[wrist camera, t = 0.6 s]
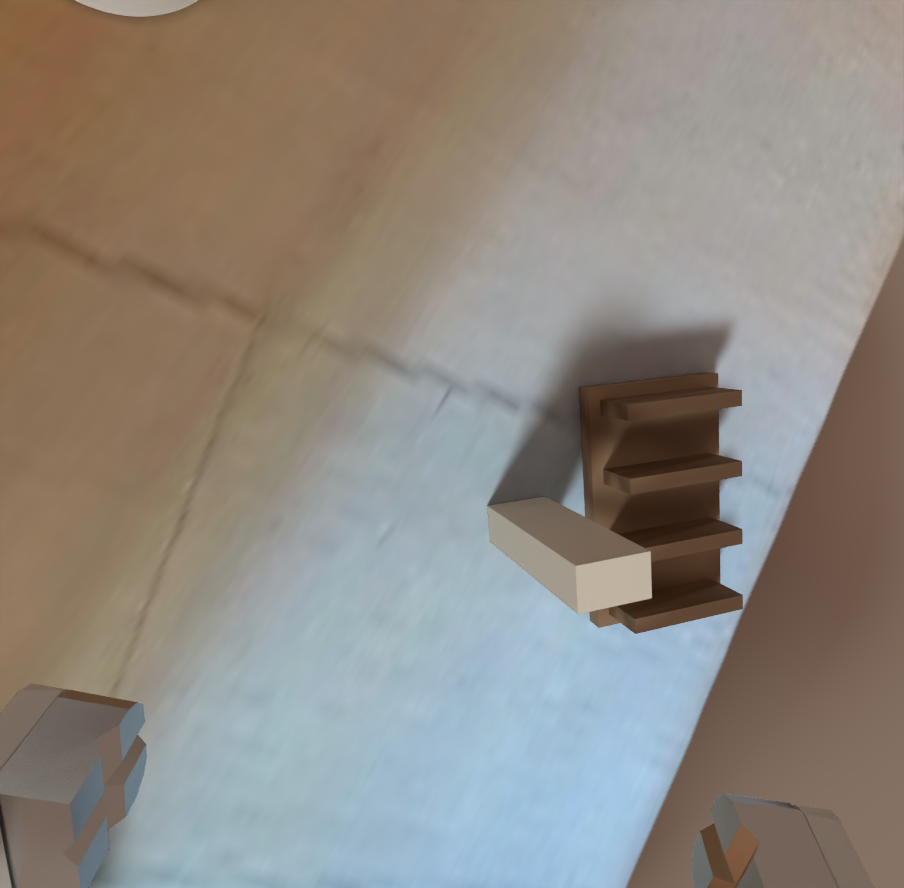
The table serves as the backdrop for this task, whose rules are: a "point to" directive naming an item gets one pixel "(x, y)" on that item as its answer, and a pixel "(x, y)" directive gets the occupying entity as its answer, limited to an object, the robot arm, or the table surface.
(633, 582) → the clay strip
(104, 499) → the table surface
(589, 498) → the drying rack
